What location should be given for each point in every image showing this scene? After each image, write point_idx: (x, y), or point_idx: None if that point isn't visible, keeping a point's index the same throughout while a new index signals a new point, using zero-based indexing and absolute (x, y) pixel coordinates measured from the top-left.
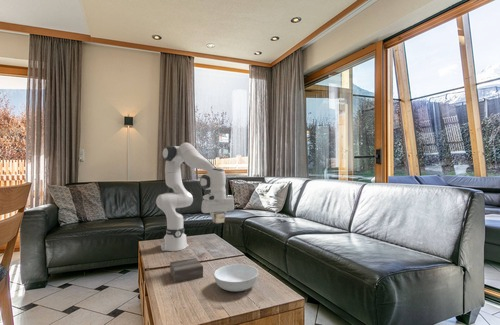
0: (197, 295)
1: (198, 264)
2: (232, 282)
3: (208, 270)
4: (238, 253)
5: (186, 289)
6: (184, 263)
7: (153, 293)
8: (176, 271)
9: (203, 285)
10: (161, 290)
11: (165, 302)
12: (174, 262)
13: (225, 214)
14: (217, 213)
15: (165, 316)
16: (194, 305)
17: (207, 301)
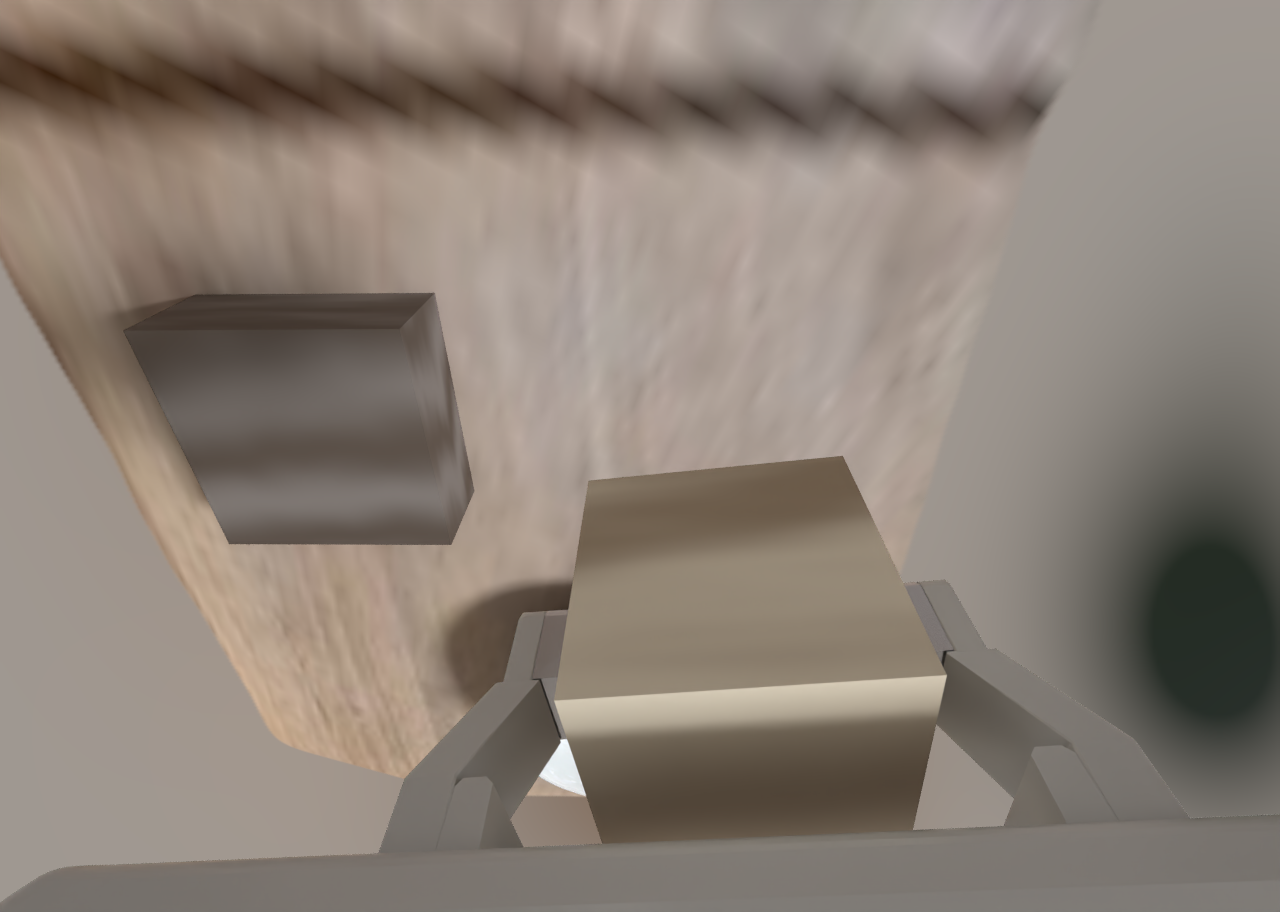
0: (418, 658)
1: (416, 497)
2: (568, 789)
3: (537, 392)
4: (1073, 17)
5: (359, 590)
6: (285, 424)
7: (167, 560)
8: (241, 541)
9: (461, 587)
10: (206, 547)
11: (262, 655)
12: (174, 357)
13: (1000, 760)
14: (725, 770)
15: (285, 730)
16: (400, 713)
17: (459, 710)
